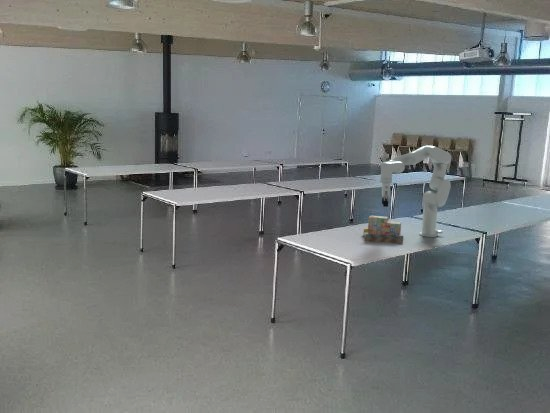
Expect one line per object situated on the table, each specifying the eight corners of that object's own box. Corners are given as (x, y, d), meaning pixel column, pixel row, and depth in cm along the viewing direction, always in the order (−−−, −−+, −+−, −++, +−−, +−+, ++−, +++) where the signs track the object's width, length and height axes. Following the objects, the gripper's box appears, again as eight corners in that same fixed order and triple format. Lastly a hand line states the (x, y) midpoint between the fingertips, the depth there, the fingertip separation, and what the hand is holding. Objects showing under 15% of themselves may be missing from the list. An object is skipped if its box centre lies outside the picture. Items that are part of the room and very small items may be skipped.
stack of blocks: (400, 235, 368) (401, 218, 366) (398, 237, 363) (399, 219, 361) (369, 232, 377) (370, 215, 375) (367, 234, 371) (368, 216, 369)
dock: (399, 236, 378) (399, 229, 377) (402, 243, 360) (403, 236, 359) (363, 235, 381) (363, 228, 380) (365, 241, 362) (365, 234, 361)
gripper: (393, 182, 354) (391, 207, 357) (390, 178, 371) (389, 203, 374) (381, 181, 355) (380, 207, 358) (379, 178, 372) (378, 202, 375)
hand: (384, 205), depth 366 cm, fingers open, 9 cm apart
